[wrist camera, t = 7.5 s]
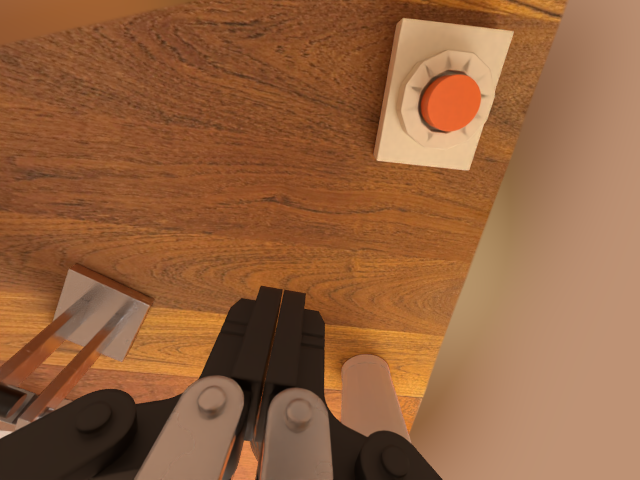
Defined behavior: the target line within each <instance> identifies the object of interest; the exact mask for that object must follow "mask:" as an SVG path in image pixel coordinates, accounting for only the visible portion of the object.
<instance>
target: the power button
mask: <svg viewBox="0 0 640 480" xmlns="http://www.w3.org/2000/svg"><path fill="white" fill-rule="evenodd" d="M480 103H481V92H480V88H479V86H478V84H477V83H476V82H475V80H473V79H472V78H471V77H469V76H466V75H462V74H456V75H446V76H442V77H440V78H438V79H436V80H435V81H433V82H432V83H431V84H430V85H429V86H428V88H427V89H426V91H425V92H424V94H423V97H422V101H421V112H422V116H423V118H424V120H425V121H426V122H427V123H428V124H429V125H430V126H432V127H434V128H437V129H439V130H442V131H448V132H450V131H456V130H459V129H461V128H463V127H465V126H466V125H468V124H469V123H470V122H471V121H472V120H473V118H474V117H475V116H476V114H477V112H478V110H479V107H480Z"/></svg>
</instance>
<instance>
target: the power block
mask: <svg viewBox="0 0 640 480" xmlns="http://www.w3.org/2000/svg"><path fill="white" fill-rule="evenodd" d="M513 33H514V31H509V30H501V29H492V28H484V27H476V26H467V25H459V24H450V23H442V22H434V21H425V20H417V19H409V18H402V19H401V20H400V21H399V22H398V23H397V24H396V30H395V36H394V41H393V47H392V53H391V58H390V64H389V70H388V75H387V81H386V86H385V92H384V98H383V103H382V109H381V115H380V120H379V126H378V132H377V137H376V143H375V148H374V154H373V155H374V157H375V158H376V160H377V161H386V162H395V163H404V164H413V165H423V166H432V167H441V168H451V169H460V170H469V169H470V165H471V162H472V159H473V156H474V153H475V150H476V147H477V144H478V141H479V138H480V135H481V132H482V128H483V125H484V123H485V122H486V120H487V118H488V115H489V112H490V109H491V106H492V103H493V100H494V97H495V92H494V91H495V88H496V85H497V82H498V79H499V76H500V73H501V70H502V67H503V64H504V61H505V58H506V54H507V51H508V48H509V45H510V42H511V39H512V36H513ZM456 74H462V75H466V76H469V77H471V78H472V79H473V80H475V82H476V83H477V84H478V86H479V88H480V92H481V103H480V107H479V110H478V112H477V114H476V116H475V117H474V118H473V120H472V121H471V122H470V123H469V124H468V125H466V126H465V127H463V128H461V129H459V130H456V131H450V132H448V131H442V130H439V129H437V128H434V127H432V126H430V125H429V124H428V123H427V122H426V121H425V120H424V118H423V116H422V112H421V101H422V97H423V94H424V92H425V91H426V89H427V88H428V86H429V85H430V84H431V83H432V82H433V81H435V80H436V79H438V78H440V77H442V76H446V75H456Z"/></svg>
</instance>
